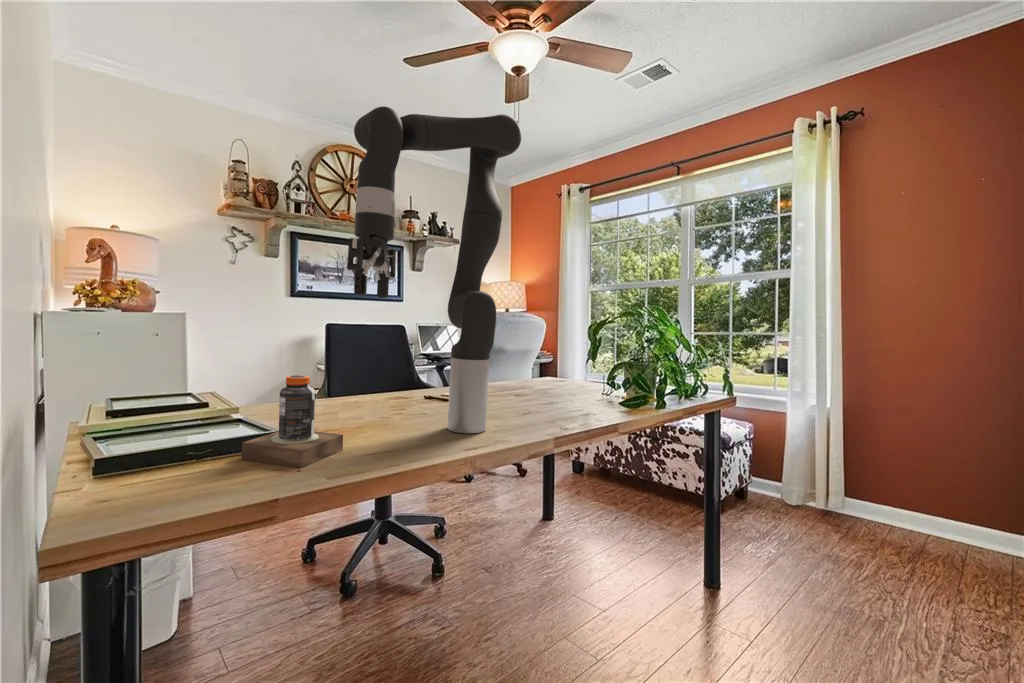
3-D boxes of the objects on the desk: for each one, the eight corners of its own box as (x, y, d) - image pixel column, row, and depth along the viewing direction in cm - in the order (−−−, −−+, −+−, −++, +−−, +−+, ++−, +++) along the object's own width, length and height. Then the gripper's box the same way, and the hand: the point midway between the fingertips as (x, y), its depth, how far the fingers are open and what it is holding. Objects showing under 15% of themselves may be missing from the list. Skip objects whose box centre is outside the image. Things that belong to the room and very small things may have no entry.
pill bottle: (319, 434, 90) (322, 375, 89) (302, 442, 84) (305, 379, 83) (290, 432, 90) (292, 373, 90) (271, 439, 84) (273, 376, 84)
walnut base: (289, 443, 94) (289, 427, 94) (342, 450, 91) (343, 433, 91) (241, 459, 82) (242, 441, 82) (301, 468, 80) (301, 449, 79)
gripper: (373, 205, 86) (370, 294, 87) (408, 222, 100) (405, 299, 100) (337, 205, 88) (333, 293, 88) (376, 222, 101) (373, 297, 102)
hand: (371, 296), depth 94 cm, fingers open, 8 cm apart
